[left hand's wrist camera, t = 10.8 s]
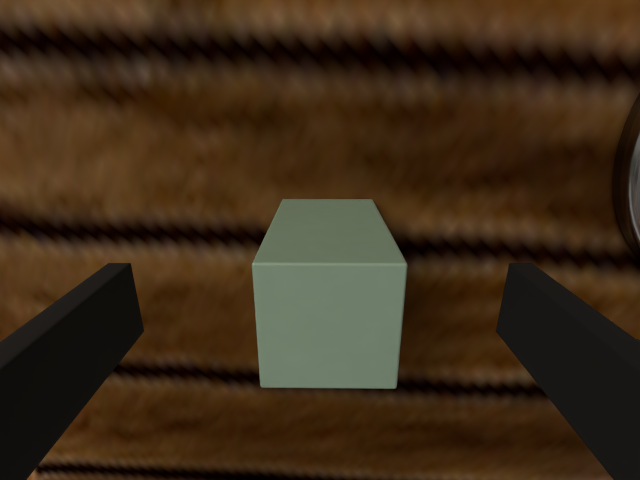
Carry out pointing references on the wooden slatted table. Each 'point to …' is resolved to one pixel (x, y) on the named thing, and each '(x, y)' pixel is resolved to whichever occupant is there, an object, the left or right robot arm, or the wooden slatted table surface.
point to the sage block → (329, 297)
